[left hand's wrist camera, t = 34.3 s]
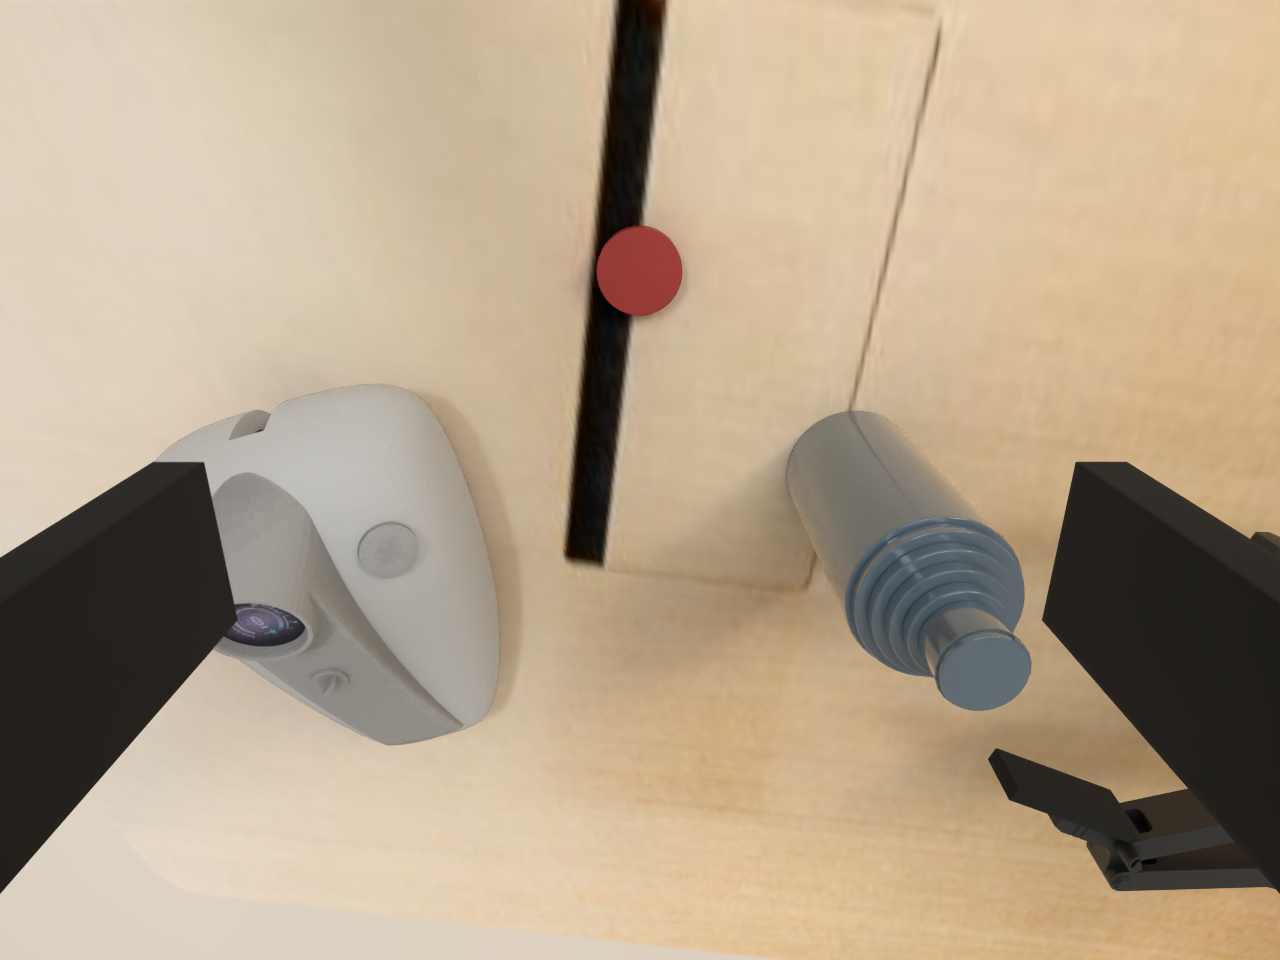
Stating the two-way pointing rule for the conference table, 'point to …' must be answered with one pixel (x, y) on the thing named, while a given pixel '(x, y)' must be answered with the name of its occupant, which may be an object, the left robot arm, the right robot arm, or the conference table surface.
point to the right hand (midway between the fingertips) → (1083, 662)
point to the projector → (355, 560)
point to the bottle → (911, 560)
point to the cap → (639, 270)
